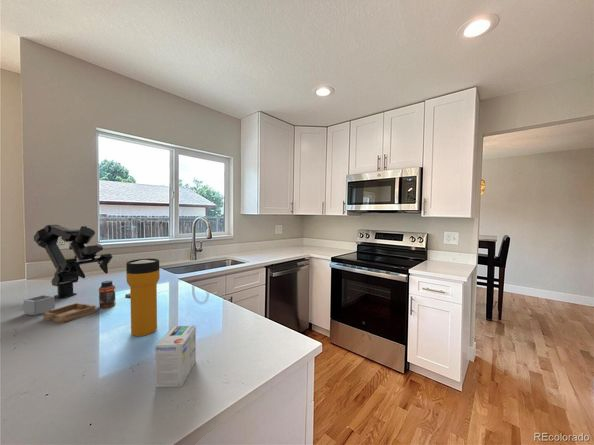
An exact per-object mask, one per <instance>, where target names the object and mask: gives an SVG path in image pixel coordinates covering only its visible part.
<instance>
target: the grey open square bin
mask: <svg viewBox="0 0 594 445" xmlns="http://www.w3.org/2000/svg"><path fill="white" fill-rule="evenodd" d="M55 298H56V297H55V295H50V294H41V295H37V296H33V297H30V298H26V299H23V313H24V314H27V315H28V316H39V315H44V312H48V311H51V310H54V309H56V307H55V306H56V305H55V304H56V302H55V300H56V299H55Z"/></svg>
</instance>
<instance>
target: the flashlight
mask: <svg viewBox="0 0 594 445" xmlns="http://www.w3.org/2000/svg"><path fill="white" fill-rule="evenodd" d="M125 267H126V268H125V270H126V283H127V285H128V286H129V288H130V290H129V291H130V292H129V293H130V334H131V336H134V335H135V337H144V335H146V336H149V335H151V334H153V333H154V332H156V331H157V330H156V329H158V304H157V303H158V300H157V296H158V292H157V291H158V289H157V288H158V286H157V284H158V282H159V281H160V259H158V258H140V259H133V260H129V261H126V266H125ZM155 330H156V331H155ZM152 332H153V333H152ZM150 333H151V334H150ZM148 334H149V335H148Z"/></svg>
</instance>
